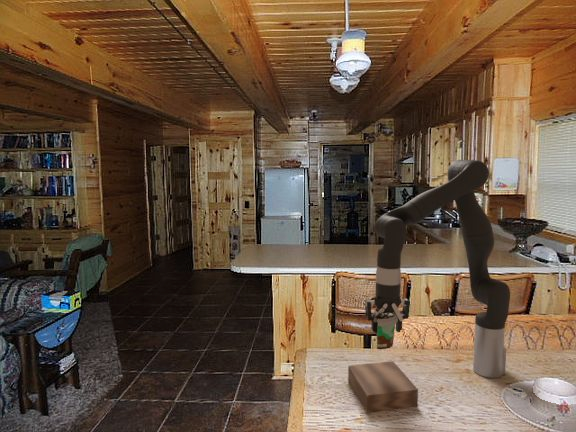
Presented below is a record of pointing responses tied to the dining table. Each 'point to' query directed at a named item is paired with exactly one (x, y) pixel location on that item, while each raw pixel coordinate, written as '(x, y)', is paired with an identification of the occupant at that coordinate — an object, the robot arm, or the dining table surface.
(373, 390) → the walnut box
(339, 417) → the dining table surface
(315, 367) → the dining table surface
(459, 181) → the robot arm
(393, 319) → the food container
